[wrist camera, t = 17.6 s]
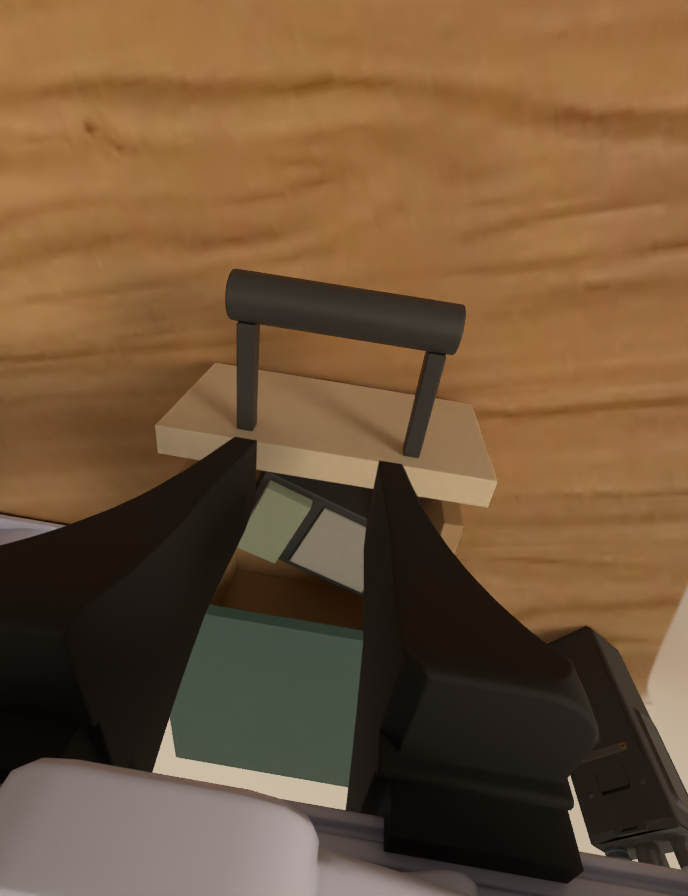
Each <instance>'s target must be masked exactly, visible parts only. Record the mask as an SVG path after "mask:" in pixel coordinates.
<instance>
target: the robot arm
mask: <svg viewBox="0 0 688 896" xmlns="http://www.w3.org/2000/svg"><path fill="white" fill-rule="evenodd" d="M256 461H257V440H252V439H246V438H240V437H234V438H232V439H231V440H229V441H228V442H226V443H225V444H223V445H222V446H220V447H219V448H217V449H216V450H214V451H213V452H212V453H210V454H209V455H207V456H206V457H204V458H203V459H201V460H200V461H198V462H197V463H195V464H194V465H192V466H191V467H189V468H187V469H186V470H184V471H183V472H181V473H179V474H178V475H176V476H174V477H172V478H171V479H169V480H167V481H166V482H164V483H162V484H160V485H159V486H157V487H155V488H153V489H151V490H150V491H148V492H146V493H144V494H142V495H140V496H138V497H136V498H134V499H131V500H129V501H127V502H125V503H123V504H121V505H118V506H116V507H114V508H112V509H109V510H107V511H104V512H101V513H99V514H96V515H94V516H91V517H88V518H86V519H83V520H81V521H78V522H75V523H73V524H70V525H61V524H55V523H49V522H43V521H37V520H31V519H25V518H19V517H13V516H7V515H1V514H0V896H688V871H686V870H681V869H674V868H669V867H664V866H658V865H652V864H647V863H641V862H635V861H629V860H624V859H618V858H612V857H607V856H601V855H595V854H589V853H584V852H579V850H578V847H577V843H576V839H575V835H574V832H573V828H572V824H571V821H570V817H569V814H568V810H571V809H572V808H573V806H574V800H573V796H572V793H571V789H570V786H569V782H568V779H567V778H568V777H569V776H570V775H571V773H572V772H573V771H574V770H575V769H576V768H577V767H578V766H579V765H580V763H581V762H582V761H583V760H584V759H585V758H586V757H587V756H588V755H589V753H590V752H591V750H592V749H593V747H594V745H595V743H596V742H597V740H598V728H599V727H598V725H597V722H596V719H595V716H594V714H593V711H592V708H591V705H590V702H589V700H588V697H587V695H586V692H585V690H584V688H583V685H582V683H581V681H580V679H579V677H578V675H577V673H576V671H575V668H574V666H573V664H572V663H571V662H569V661H568V660H567V659H565V658H564V657H563V656H562V655H560V654H559V653H558V652H556V651H555V650H554V649H553V648H551V647H550V646H549V645H547V644H546V643H545V642H544V641H542V640H541V639H540V638H538V637H537V636H536V635H534V634H533V633H532V632H531V631H529V630H528V629H527V628H526V627H525V626H524V625H523V624H521V623H520V622H519V621H518V620H517V619H516V618H515V617H513V616H512V615H511V614H510V613H509V612H508V611H507V610H506V609H504V608H503V607H502V606H501V605H500V604H499V603H498V602H497V601H496V600H495V599H494V598H493V597H492V596H491V595H490V594H489V593H488V592H487V591H486V590H485V589H484V588H483V587H482V586H481V585H480V584H479V583H478V582H477V580H476V579H475V578H474V577H473V576H472V575H471V574H470V573H469V572H468V571H467V569H466V568H465V567H464V566H463V565H462V563H461V562H460V561H459V560H458V558H457V557H456V556H455V555H454V553H453V552H452V551H451V549H450V548H449V547H448V545H447V544H446V542H445V541H444V540H443V538H442V537H441V535H440V534H439V532H438V531H437V529H436V528H435V526H434V524H433V523H432V521H431V519H430V518H429V516H428V514H427V513H426V511H425V509H424V507H423V506H422V504H421V502H420V500H419V498H418V496H417V494H416V492H415V490H414V488H413V486H412V484H411V482H410V480H409V477H408V475H407V473H406V470H405V468H404V467H403V465H402V464H398V463H392V462H386V461H380V460H379V464H378V468H377V473H376V478H375V483H374V488H373V492H372V497H371V502H370V507H369V511H368V516H367V523H366V532H365V541H364V632H363V648H362V659H361V670H360V680H359V690H358V701H357V711H356V721H355V730H354V740H353V749H352V759H351V768H350V777H349V786H348V796H347V805H346V810H340V809H334V808H328V807H323V806H318V805H312V804H306V803H300V802H295V801H289V800H284V799H278V798H275V797H272V796H268V795H265V794H261V793H258V792H255V791H251V790H248V789H242V788H236V787H230V786H225V785H219V784H213V783H208V782H202V781H196V780H191V779H185V778H179V777H174V776H168V775H162V774H156V773H152V771H153V768H154V764H155V762H156V758H157V755H158V751H159V749H160V745H161V742H162V739H163V735H164V733H165V729H166V726H167V723H168V720H169V717H170V714H171V711H172V708H173V705H174V702H175V699H176V696H177V693H178V690H179V687H180V684H181V681H182V678H183V675H184V672H185V670H186V667H187V664H188V661H189V658H190V655H191V652H192V649H193V647H194V644H195V641H196V638H197V636H198V633H199V630H200V628H201V625H202V622H203V619H204V617H205V614H206V611H207V609H208V607H209V605H210V602H211V600H212V598H213V596H214V594H215V592H216V589H217V587H218V585H219V583H220V581H221V579H222V577H223V575H224V573H225V571H226V569H227V567H228V565H229V563H230V561H231V559H232V557H233V555H234V553H235V551H236V548H237V546H238V544H239V542H240V540H241V538H242V536H243V534H244V532H245V529H246V526H247V523H248V521H249V518H250V515H251V511H252V508H253V505H254V502H255V494H256Z"/></svg>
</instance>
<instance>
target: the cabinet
mask: <svg viewBox="0 0 688 896" xmlns="http://www.w3.org/2000/svg"><path fill="white" fill-rule="evenodd" d="M363 632H364V630H358V629H352V628H347V627H341V626H335V625H329V624H323V623H317V622H311V621H305V620H300V619H294V618H288V617H282V616H276V615H270V614H264V613H258V612H253V611H247V610H241V609H235V608H229V607H223V606H217V605H211V604H210V605H209V607H208V609H207V611H206V614H205V617H204V619H203V622H202V625H201V628H200V630H199V633H198V636H197V638H196V641H195V644H194V647H193V649H192V652H191V655H190V658H189V661H188V664H187V667H186V670H185V672H184V675H183V678H182V681H181V684H180V687H179V690H178V693H177V696H176V699H175V702H174V705H173V708H172V711H171V714H170V721H171V726H172V734H173V740H174V746H175V753H176V757H179V758H185V759H190V760H197V761H202V762H208V763H213V764H219V765H225V766H230V767H236V768H242V769H247V770H254V771H259V772H265V773H270V774H276V775H281V776H287V777H293V778H299V779H304V780H310V781H316V782H321V783H327V784H333V785H339V786H345V787H348V786H349V777H350V768H351V759H352V749H353V740H354V730H355V721H356V711H357V701H358V690H359V680H360V670H361V659H362V648H363Z"/></svg>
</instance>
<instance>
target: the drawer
mask: <svg viewBox="0 0 688 896" xmlns="http://www.w3.org/2000/svg"><path fill="white" fill-rule="evenodd" d="M225 304H226V311H227V315H228V317H229V318H230V319H231V320H236V321H238V322H237V366H233V365H227V364H221V363H214V365H213V366H212V367H211V368H210V369H209V370H208V371H207V372H206V373H205V374H204V375H203V376H202V377H201V378H200V379H199V380H198V381H197V382H196V383H195V384H194V385H193V386H192V387H191V388H190V389H189V390H188V391H187V392H186V393H185V395H184V396H183V397H182V398H181V399H180V400H179V401H178V402H177V403H176V404H175V405H174V406H173V407H172V408H171V409H170V410H169V411H168V412H167V413H166V414H165V415H164V416H163V417H162V418H161V419H160V420H159V421H158V422H157V423H156V425H155V431H156V440H157V449H158V453H159V454H165V455H171V456H177V457H183V458H189V461H188V462H187V463H186V465H185V466H184V468H183V469H182V470H181V472H183V471H184V470H186V469H187V468H189V467H191V466H192V465H194V464H195V463H197V462H198V461H200V460H201V459H203V458H204V457H206V456H207V455H209V454H210V453H212V452H213V451H214V450H216V449H217V448H219V447H220V446H222V445H223V444H225V443H226V442H228V441H229V440H231V439H232V438H234V437H240V438H246V439H252V440H257V461H256V481H257V480H258V478H259V476H260V474H261V472H262V471H268V472H274V473H280V474H286V475H292V476H298V477H304V478H310V479H316V480H322V481H329V482H335V483H341V484H347V485H353V486H359V487H365V488H371V489H373V488H374V483H375V478H376V473H377V468H378V464H379V460H380V461H386V462H392V463H398V464H402V465H403V467H404V468H405V470H406V473H407V475H408V477H409V480H410V482H411V484H412V486H413V488H414V490H415V492H416V494H417V496H418V498H419V500H420V502H421V504H422V506H423V507H424V509H425V511H426V513H427V514H428V516H429V518H430V519H431V521H432V523H433V524H434V526H435V528H436V529H437V531H438V532H439V534H440V535H441V537H442V538H443V540H444V541H445V542H446V544H447V545H448V547H449V548H450V549H451V551H452V552H453V553H454V554H455V551H456V548H457V545H458V543H459V540H460V537H461V535H462V532H463V529H464V524H463V519H462V514H461V508H460V503H462V504H468V505H474V506H480V507H486V508H487V507H488V505H489V502H490V500H491V497H492V495H493V492H494V490H495V487H496V484H497V478H496V475H495V472H494V469H493V466H492V463H491V460H490V457H489V454H488V451H487V449H486V446H485V443H484V440H483V437H482V434H481V431H480V428H479V425H478V422H477V419H476V416H475V413H474V410H473V407H472V404H468V403H462V402H455V401H449V400H443V399H437V398H435V397H436V393H437V390H438V386H439V382H440V378H441V375H442V371H443V367H444V363H445V360H446V355H445V354H448V355H454V354H455V353H456V351H457V349H458V347H459V344H460V341H461V338H462V334H463V330H464V325H465V317H466V309H465V306H464V305H461V304H455V303H449V302H443V301H436V300H430V299H424V298H417V297H411V296H405V295H398V294H392V293H386V292H380V291H373V290H367V289H361V288H354V287H348V286H342V285H335V284H329V283H323V282H317V281H310V280H304V279H298V278H291V277H285V276H279V275H272V274H266V273H260V272H254V271H247V270H241V269H233V270H232V271H231V273H230V275H229V277H228V281H227V285H226V294H225ZM260 324H261V325H267V326H274V327H280V328H286V329H292V330H299V331H305V332H311V333H317V334H324V335H330V336H336V337H342V338H348V339H355V340H361V341H367V342H373V343H380V344H386V345H392V346H398V347H405V348H411V349H417V350H423V351H426V352H425V356H424V360H423V365H422V369H421V373H420V377H419V381H418V386H417V390H416V394H415V395H412V394H406V393H400V392H394V391H387V390H381V389H375V388H369V387H363V386H357V385H350V384H344V383H338V382H332V381H326V380H320V379H313V378H307V377H301V376H295V375H289V374H283V373H276V372H270V371H264V370H258V365H259V331H260ZM181 472H180V473H181ZM210 604H211V605H217V606H223V607H229V608H235V609H241V610H247V611H253V612H258V613H264V614H270V615H276V616H282V617H288V618H294V619H300V620H305V621H311V622H317V623H323V624H329V625H335V626H341V627H347V628H352V629H358V630H364V597H362V596H359V595H357V594H355V593H353V592H350V591H348V590H346V589H344V588H341V587H339V586H337V585H335V584H332V583H330V582H328V581H326V580H323V579H321V578H319V577H317V576H314V575H312V574H310V573H308V572H305V571H303V570H301V569H299V568H296V567H294V566H292V565H290V564H287V563H285V562H283V561H281V560H278V559H277V561H276V563H275V564H274V563H271V562H269V561H267V560H264V559H262V558H260V557H258V556H255V555H253V554H251V553H249V552H246V551H244V550H242V549H240V548H236V551H235V553H234V555H233V557H232V559H231V561H230V563H229V565H228V567H227V569H226V571H225V573H224V575H223V577H222V579H221V581H220V583H219V585H218V587H217V589H216V592H215V594H214V596H213V598H212V600H211V602H210Z"/></svg>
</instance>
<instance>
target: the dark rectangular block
mask: <svg viewBox="0 0 688 896" xmlns="http://www.w3.org/2000/svg"><path fill="white" fill-rule="evenodd" d="M372 492H373V489H371V488H365V487H359V486H353V485H347V484H341V483H335V482H329V481H322V480H316V479H310V478H304V477H298V476H292V475H286V474H280V473H274V472H268V471H262V472H261V474H260V476H259V478H258V480H257V481H256V494H255V502H254V505H253V508H252V511H251V515H250V518H249V521H248V523H247V526H246V529H245V532H244V534H243V536H242V538H241V540H240V542H239V544H238V546H237V548H240V549H242V550H244V551H246V552H249V553H251V554H253V555H255V556H258V557H260V558H262V559H264V560H267V561H269V562H271V563H274V564H275V563H276V561H277V559H278V560H281V561H283V562H285V563H287V564H290V565H292V566H294V567H296V568H299V569H301V570H303V571H305V572H308V573H310V574H312V575H314V576H317V577H319V578H321V579H323V580H326V581H328V582H330V583H332V584H335V585H337V586H339V587H341V588H344V589H346V590H348V591H350V592H353V593H355V594H357V595H359V596H362V597H364V541H365V532H366V523H367V516H368V511H369V507H370V502H371V497H372Z"/></svg>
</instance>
